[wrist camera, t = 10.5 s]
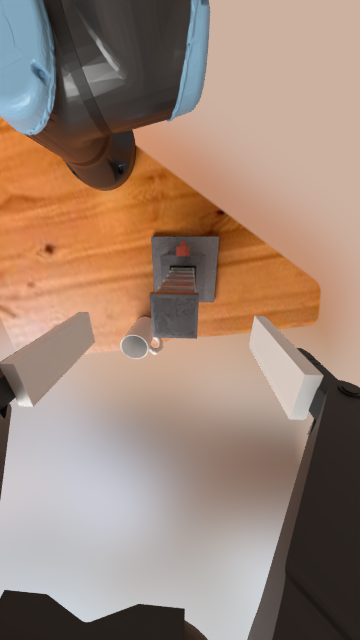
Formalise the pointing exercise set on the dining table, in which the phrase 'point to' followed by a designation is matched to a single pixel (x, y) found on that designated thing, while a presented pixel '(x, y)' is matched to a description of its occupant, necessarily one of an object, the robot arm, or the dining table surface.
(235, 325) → the dining table surface
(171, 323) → the column
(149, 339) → the mug
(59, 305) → the dining table surface
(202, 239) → the sleeve
